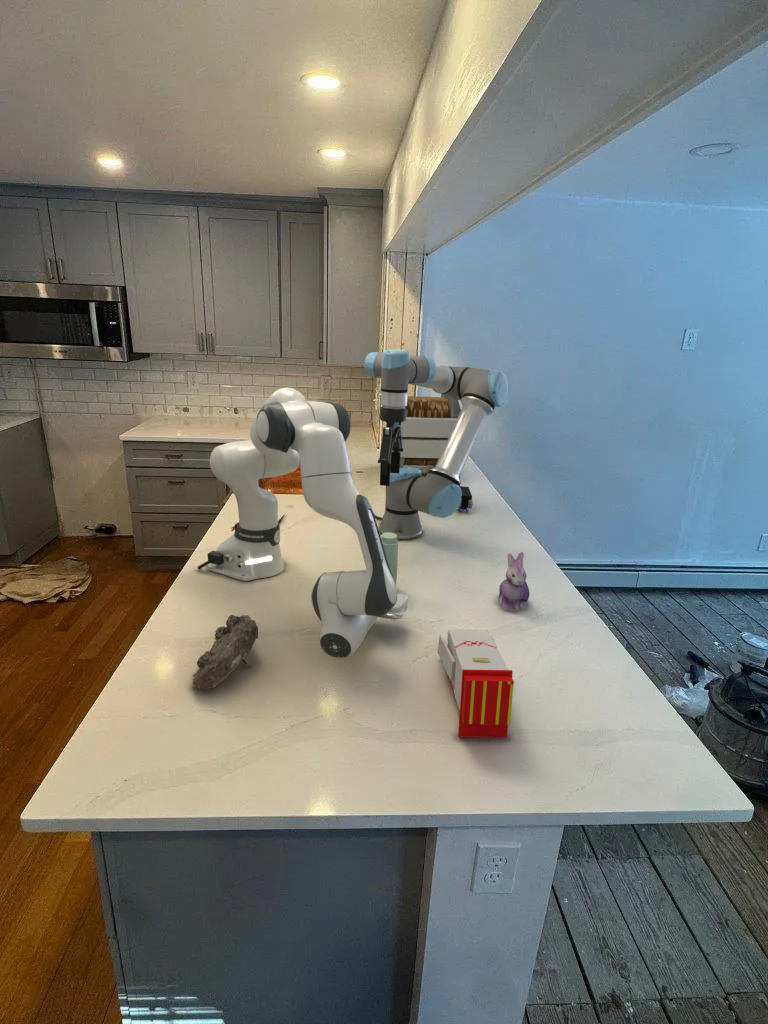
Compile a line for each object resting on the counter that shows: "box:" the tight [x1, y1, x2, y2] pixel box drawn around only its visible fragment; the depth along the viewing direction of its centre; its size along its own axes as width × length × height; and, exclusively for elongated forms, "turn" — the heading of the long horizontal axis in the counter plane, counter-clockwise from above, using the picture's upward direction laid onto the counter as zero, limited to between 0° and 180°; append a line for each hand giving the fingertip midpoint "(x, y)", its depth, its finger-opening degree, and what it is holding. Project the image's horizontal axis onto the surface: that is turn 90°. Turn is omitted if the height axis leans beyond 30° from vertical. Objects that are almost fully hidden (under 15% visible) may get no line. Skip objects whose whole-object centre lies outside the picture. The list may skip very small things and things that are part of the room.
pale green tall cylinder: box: [380, 533, 400, 585], centre depth 157 cm, size 5×5×17 cm
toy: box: [437, 628, 515, 738], centre depth 117 cm, size 12×13×30 cm
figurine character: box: [457, 485, 474, 513], centre depth 227 cm, size 7×8×15 cm
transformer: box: [384, 394, 462, 482], centre depth 268 cm, size 34×33×41 cm
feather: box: [278, 514, 286, 525], centre depth 209 cm, size 2×28×2 cm
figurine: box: [497, 551, 530, 612], centre depth 152 cm, size 9×10×15 cm
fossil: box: [192, 614, 259, 691], centre depth 123 cm, size 22×10×15 cm
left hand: (375, 586), depth 147 cm, fingers open, 8 cm apart
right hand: (389, 479), depth 167 cm, fingers open, 13 cm apart
